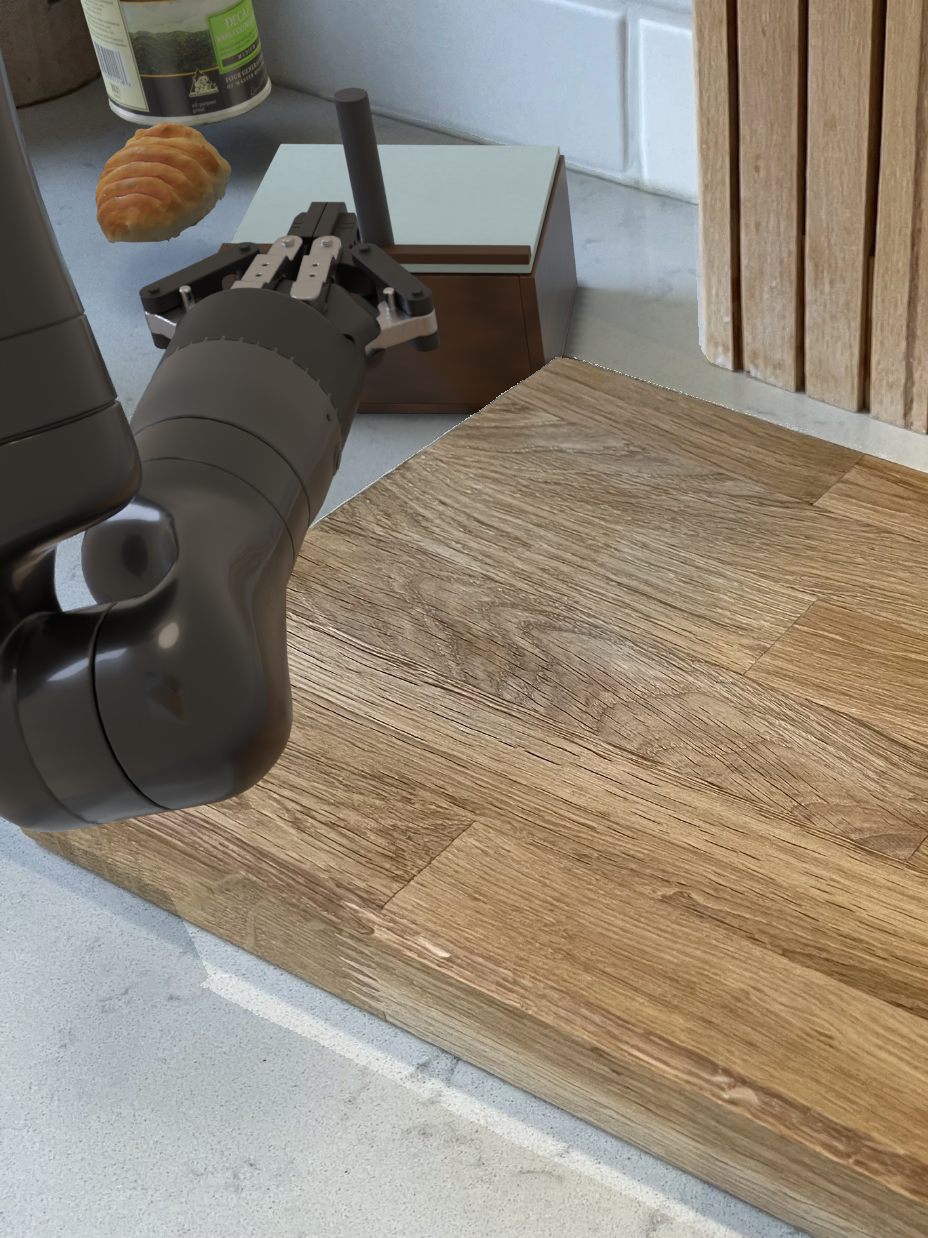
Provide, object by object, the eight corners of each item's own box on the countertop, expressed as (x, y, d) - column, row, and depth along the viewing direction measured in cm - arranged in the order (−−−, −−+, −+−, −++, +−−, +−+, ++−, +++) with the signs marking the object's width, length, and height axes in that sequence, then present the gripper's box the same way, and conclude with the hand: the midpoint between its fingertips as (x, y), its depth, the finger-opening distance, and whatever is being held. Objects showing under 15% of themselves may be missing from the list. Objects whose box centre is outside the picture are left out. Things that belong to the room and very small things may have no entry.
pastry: (191, 256, 98) (173, 191, 95) (74, 253, 98) (53, 188, 96) (240, 180, 105) (224, 118, 102) (130, 178, 105) (111, 115, 102)
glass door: (222, 272, 88) (179, 105, 82) (282, 152, 98) (247, -6, 92) (530, 274, 88) (510, 107, 82) (560, 154, 98) (544, -4, 92)
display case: (254, 412, 94) (218, 275, 88) (309, 283, 104) (279, 152, 98) (551, 414, 94) (534, 277, 88) (577, 285, 104) (564, 154, 98)
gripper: (396, 345, 66) (465, 142, 78) (44, 342, 66) (168, 139, 78) (427, 510, 71) (487, 296, 83) (102, 507, 71) (209, 293, 83)
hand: (333, 220), depth 80 cm, fingers closed
